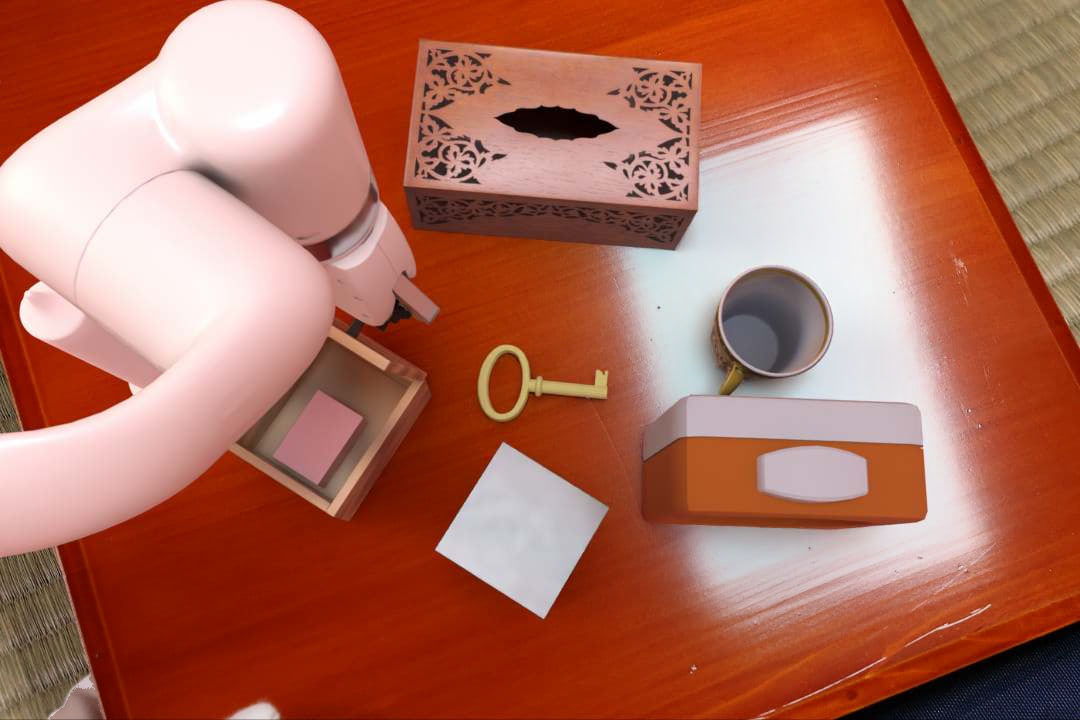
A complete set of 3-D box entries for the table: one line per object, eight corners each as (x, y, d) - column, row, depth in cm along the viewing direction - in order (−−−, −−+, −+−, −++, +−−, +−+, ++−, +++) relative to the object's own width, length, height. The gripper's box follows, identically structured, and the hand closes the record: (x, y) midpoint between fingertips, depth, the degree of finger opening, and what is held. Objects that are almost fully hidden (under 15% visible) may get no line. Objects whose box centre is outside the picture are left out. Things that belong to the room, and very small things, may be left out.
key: (612, 400, 82) (615, 396, 80) (484, 427, 80) (483, 423, 78) (595, 328, 83) (597, 322, 81) (469, 353, 82) (468, 348, 80)
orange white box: (640, 523, 79) (688, 511, 59) (640, 428, 81) (687, 386, 61) (838, 530, 80) (952, 520, 60) (834, 436, 82) (943, 396, 62)
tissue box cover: (413, 229, 85) (403, 185, 75) (428, 96, 88) (419, 38, 78) (675, 250, 85) (697, 210, 76) (679, 118, 89) (701, 63, 79)
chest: (349, 521, 78) (333, 517, 70) (243, 453, 79) (216, 442, 71) (432, 395, 81) (425, 378, 73) (329, 331, 82) (312, 308, 74)
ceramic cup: (728, 279, 85) (758, 242, 75) (813, 336, 84) (855, 307, 74) (655, 383, 82) (676, 360, 72) (743, 444, 81) (776, 429, 72)
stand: (529, 601, 77) (544, 620, 53) (453, 553, 78) (434, 550, 53) (575, 523, 79) (610, 507, 55) (500, 477, 80) (502, 440, 55)
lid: (384, 371, 59) (423, 308, 59) (242, 283, 59) (281, 222, 60) (422, 381, 73) (453, 331, 73) (308, 311, 74) (339, 261, 74)
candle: (130, 341, 81) (-28, 246, 56) (207, 334, 81) (83, 237, 57) (130, 416, 79) (-32, 351, 55) (209, 408, 80) (83, 341, 55)
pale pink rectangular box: (324, 488, 78) (317, 485, 75) (280, 460, 78) (271, 456, 75) (368, 423, 79) (363, 417, 76) (325, 395, 80) (318, 389, 77)
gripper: (131, 166, 46) (233, 274, 64) (399, 331, 45) (428, 395, 62) (216, 60, 48) (293, 194, 65) (477, 216, 46) (483, 310, 64)
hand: (358, 292), depth 64 cm, fingers closed on lid, 5 cm apart
